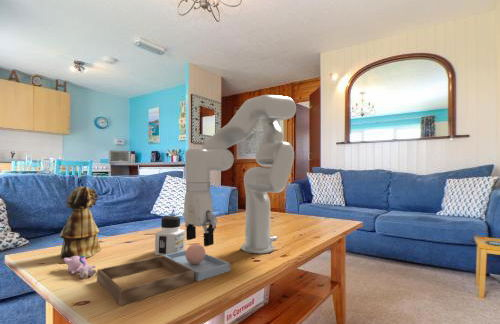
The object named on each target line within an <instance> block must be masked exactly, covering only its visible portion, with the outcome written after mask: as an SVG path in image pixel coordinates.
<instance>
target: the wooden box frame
mask: <svg viewBox="0 0 500 324" xmlns="http://www.w3.org/2000/svg"><path fill="white" fill-rule="evenodd" d="M160 267H163V268H165V269H166V270H168V271H170V272H171V273H173V275H169V276H165V277H164V278H163V277H162V278H159V279H156V280H152V281H147V282H145V283H141V284H138V285H134V286H131V287H127V288H124V289H123V288H122V287H121V286H120V285H118V284H117V283H116V282H115V281H114V280H113V279H115V278H119V277H120V278H121V277H123V276H128V275H132V274H136V273H139V272H144V271H148V270H151V269H155V268H156V269H157V268H160ZM96 272H97V276H96V282H97V283H98V284H99V285H100V286H101V287H102V288H103V289H104V291H106V292H107V294H108V295H109V296H110V297H111V298H112V299H113V300H114V302H116V304H117V305H119V306H124V305H126V304H130V303H133V302H137V301H140V300H142V299H146V298H148V297H151V296H155V295H158V294H161V293H164V292H167V291H170V290H173V289H177V288H180V287H182V286H185V285H189V284H192V283H194V280H195V279H194V270H192V269H190V268H188V267H186V266H184V265H182V264H180V263H178V262H176V261H174V260H172V259H170V258H168V257H166V256H164V255H157V256H154V257H149V258H145V259H139V260H136V261H131V262H126V263H122V264H118V265H113V266H109V267H104V268H99V269H97V270H96Z"/></svg>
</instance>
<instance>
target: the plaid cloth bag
mask: <svg viewBox="0 0 500 324" xmlns="http://www.w3.org/2000/svg"><path fill="white" fill-rule="evenodd" d="M98 198H99V194H98V193H97V191H96V189H93V188H90V187H87V185H85V186H79V185H78V186H76V188H75V189H72V191H71V193H69V195H68V196H67V198H66V201H65V204H66V208H67V209H72V212H70V216H69V217H68V218H67V221H66V223H65V225H64V227H63V229H62V230H61V231H60V235H59V236H58V237H59V238H61V239H63V241H62V245H61V252H60V254H59V257H60V258H63V259H64V258H70V257H73V256H79V257H80V256H81V255H84V256H85V259H87V258H90V257H92V256H93V255H95V254H96V253H98V252H100V251H101V250H102V248H101V244H100V240H99V237H98V236H99V233H100V229H99V228H98V225H97V224H96V222H95V220H94V217H93V214H92V212H91V209H92V208H93V206H96V204H97V201H98ZM70 259H71V258H70Z"/></svg>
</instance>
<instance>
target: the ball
mask: <svg viewBox="0 0 500 324" xmlns="http://www.w3.org/2000/svg"><path fill="white" fill-rule="evenodd" d="M205 254H206V250H205V248H204V246H202V244H199V243H194V244H193V243H192V244H191V245H189V246H188V248H187V249H186V259H187V261H188V262H189V263H191V264H199V263H200V262H202V261H203V259H204V257H205Z"/></svg>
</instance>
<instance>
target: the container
mask: <svg viewBox="0 0 500 324" xmlns="http://www.w3.org/2000/svg"><path fill="white" fill-rule="evenodd" d="M160 225H161V226H160V227H161V228H160V229H161V230H160V231H157V232H155V237H154V238H155V240H154V241H155V242H154V255H155V256H162V255H167V254H171V253H176V252H180V251H185V241H186V240H185V237H186V236H185V235H186V234H185V233H186V230H185V229H181V217H180V216H178V215H165V216H163V217H162V218H161V224H160Z"/></svg>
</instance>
